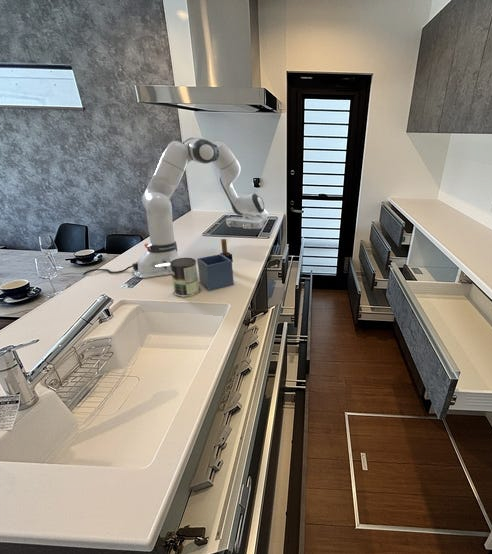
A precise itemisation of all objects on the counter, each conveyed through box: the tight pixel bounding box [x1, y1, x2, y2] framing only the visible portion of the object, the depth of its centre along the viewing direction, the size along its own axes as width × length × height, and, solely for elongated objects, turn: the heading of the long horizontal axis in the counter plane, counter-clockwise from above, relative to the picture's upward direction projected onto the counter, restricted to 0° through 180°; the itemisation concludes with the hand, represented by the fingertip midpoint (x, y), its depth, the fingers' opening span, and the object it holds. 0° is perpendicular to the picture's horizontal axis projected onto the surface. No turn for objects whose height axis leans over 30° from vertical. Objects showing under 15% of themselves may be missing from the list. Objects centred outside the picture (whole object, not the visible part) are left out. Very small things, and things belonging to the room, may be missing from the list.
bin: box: [196, 253, 234, 291], centre depth 140 cm, size 12×12×12 cm
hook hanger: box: [219, 238, 234, 263], centre depth 151 cm, size 6×4×17 cm, turn 39°
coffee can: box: [170, 257, 200, 298], centre depth 130 cm, size 10×10×14 cm
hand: (236, 226), depth 158 cm, fingers open, 8 cm apart
